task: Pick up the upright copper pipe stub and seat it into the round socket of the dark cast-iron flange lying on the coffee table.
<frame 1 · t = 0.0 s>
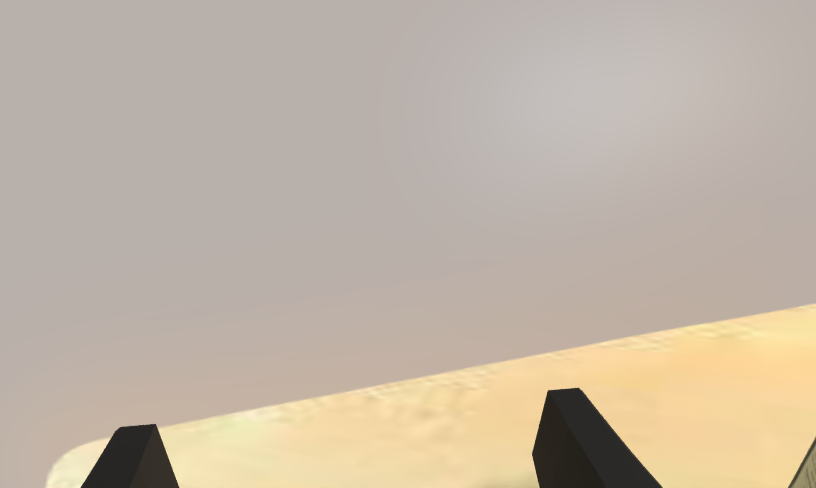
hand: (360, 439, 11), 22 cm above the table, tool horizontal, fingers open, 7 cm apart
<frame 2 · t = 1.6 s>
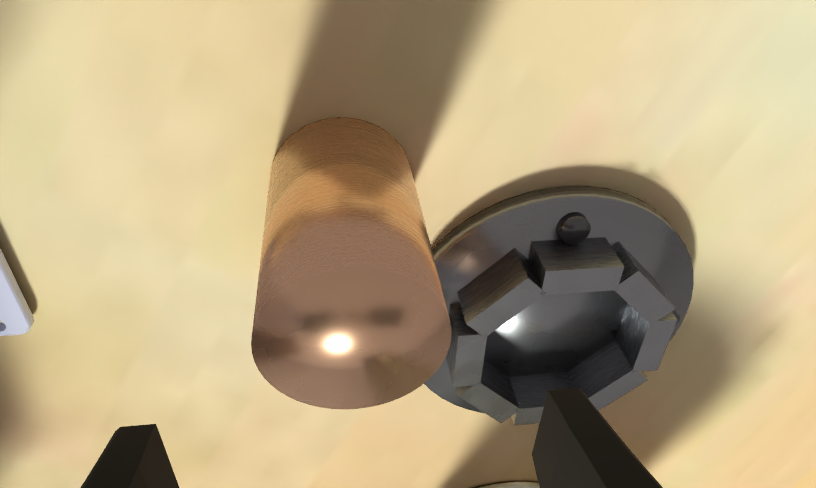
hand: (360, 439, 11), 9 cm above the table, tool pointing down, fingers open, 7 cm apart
flange: (543, 308, 23), on the table
pipe stub: (341, 182, 19), on the table
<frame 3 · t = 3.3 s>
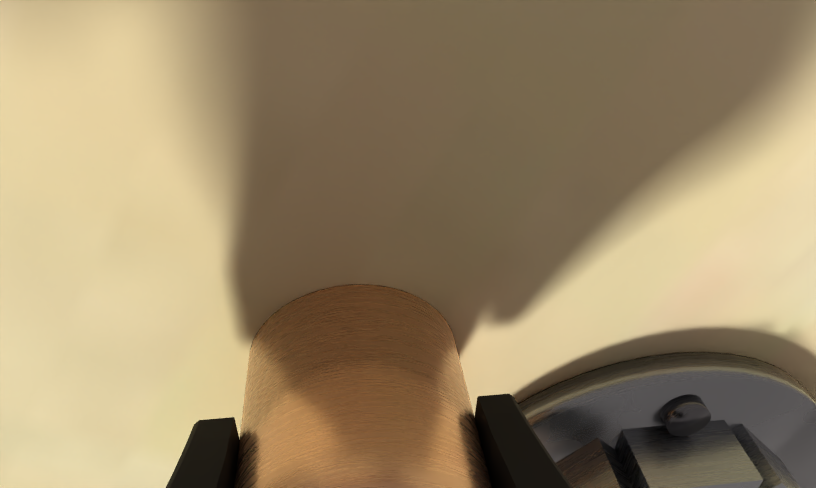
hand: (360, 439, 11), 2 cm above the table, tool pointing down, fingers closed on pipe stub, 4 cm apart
flange: (621, 485, 17), on the table
pipe stub: (354, 362, 13), on the table, touching gripper
when the fingers open (3 cm above the table, at t = 6.7 s): pipe stub stays where it is, resting on flange.
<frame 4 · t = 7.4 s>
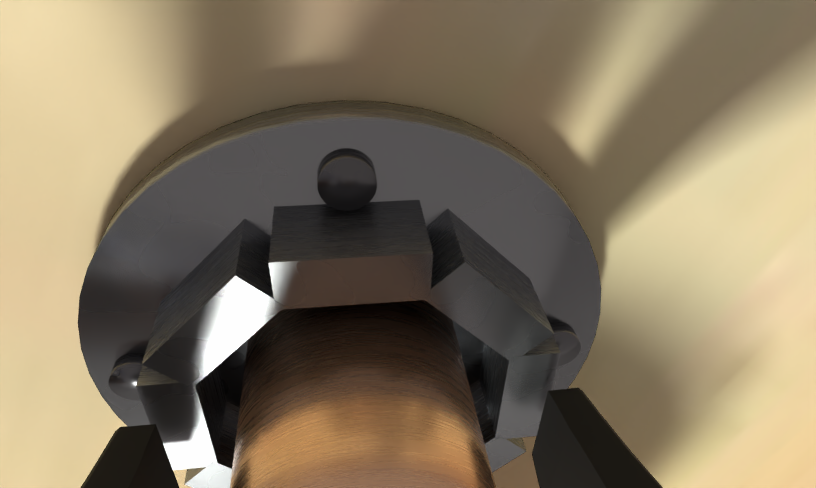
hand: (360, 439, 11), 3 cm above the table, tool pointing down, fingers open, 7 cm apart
flange: (352, 327, 14), on the table
pipe stub: (353, 344, 13), point 1 cm above the table, touching flange
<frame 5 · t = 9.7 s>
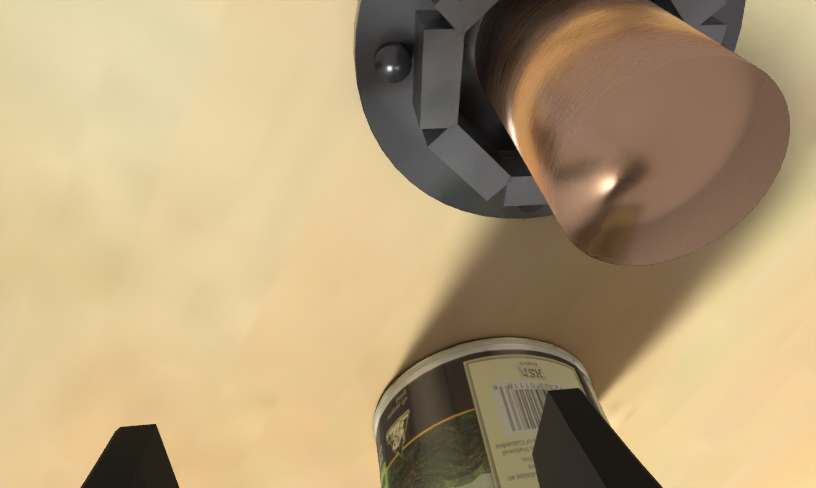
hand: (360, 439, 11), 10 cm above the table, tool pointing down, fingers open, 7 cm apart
flange: (542, 47, 18), on the table
pipe stub: (552, 46, 17), point 1 cm above the table, touching flange
coffee can: (483, 410, 28), on the table
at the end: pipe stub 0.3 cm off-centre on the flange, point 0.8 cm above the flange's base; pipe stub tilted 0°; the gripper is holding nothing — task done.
